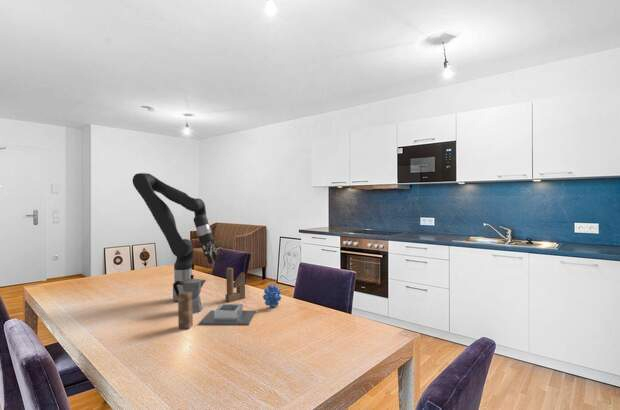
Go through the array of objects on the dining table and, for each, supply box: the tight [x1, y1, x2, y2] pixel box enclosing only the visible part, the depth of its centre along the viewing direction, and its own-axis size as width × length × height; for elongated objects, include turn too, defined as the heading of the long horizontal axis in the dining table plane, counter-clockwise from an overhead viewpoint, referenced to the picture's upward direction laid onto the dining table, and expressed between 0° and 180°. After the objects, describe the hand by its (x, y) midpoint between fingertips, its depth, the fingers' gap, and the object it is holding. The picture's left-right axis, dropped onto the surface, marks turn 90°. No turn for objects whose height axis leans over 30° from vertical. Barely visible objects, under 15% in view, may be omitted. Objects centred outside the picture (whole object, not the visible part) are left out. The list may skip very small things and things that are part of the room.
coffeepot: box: [172, 274, 207, 314], centre depth 169 cm, size 15×9×18 cm, turn 110°
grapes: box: [262, 284, 282, 309], centre depth 173 cm, size 12×7×12 cm, turn 138°
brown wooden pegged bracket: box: [224, 267, 246, 303], centre depth 188 cm, size 4×11×18 cm, turn 137°
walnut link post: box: [177, 292, 194, 330], centre depth 148 cm, size 4×4×15 cm
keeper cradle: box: [199, 303, 256, 326], centre depth 159 cm, size 22×16×5 cm
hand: (213, 261), depth 186 cm, fingers open, 8 cm apart
